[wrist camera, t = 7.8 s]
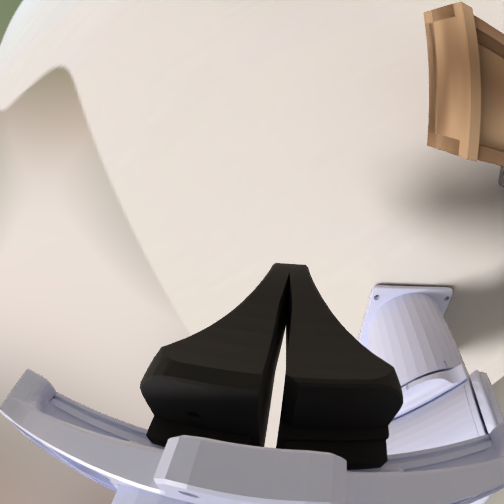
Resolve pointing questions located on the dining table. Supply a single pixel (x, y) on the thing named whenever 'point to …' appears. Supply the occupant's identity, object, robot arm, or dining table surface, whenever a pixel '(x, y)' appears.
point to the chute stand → (501, 176)
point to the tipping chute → (465, 84)
